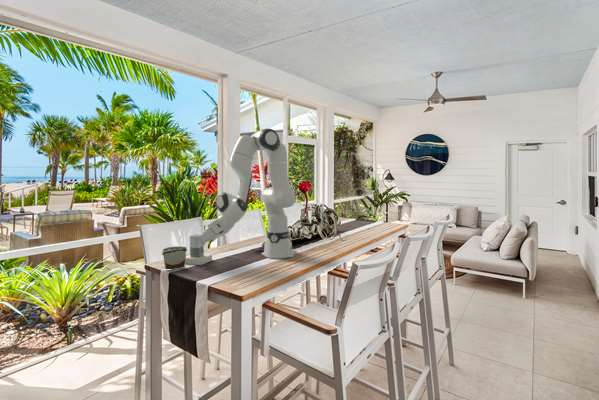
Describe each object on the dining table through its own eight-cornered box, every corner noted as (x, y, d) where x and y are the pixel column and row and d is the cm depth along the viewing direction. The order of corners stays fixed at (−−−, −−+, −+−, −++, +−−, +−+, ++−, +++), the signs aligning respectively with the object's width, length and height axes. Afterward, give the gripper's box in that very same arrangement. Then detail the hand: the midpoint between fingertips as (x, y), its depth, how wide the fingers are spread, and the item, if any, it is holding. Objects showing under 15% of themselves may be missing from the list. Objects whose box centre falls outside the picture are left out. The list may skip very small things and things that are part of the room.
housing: (195, 254, 187) (195, 234, 186) (203, 255, 186) (203, 234, 185) (190, 256, 182) (189, 236, 181) (198, 257, 181) (198, 236, 180)
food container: (181, 264, 179) (181, 245, 178) (187, 266, 174) (187, 247, 174) (157, 268, 170) (157, 248, 169) (163, 271, 166) (162, 250, 165)
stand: (194, 258, 191) (194, 252, 191) (212, 259, 188) (212, 254, 188) (182, 263, 181) (182, 257, 180) (201, 265, 178) (201, 259, 177)
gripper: (228, 217, 189) (213, 234, 193) (208, 223, 170) (191, 242, 173) (236, 226, 188) (220, 243, 192) (217, 233, 169) (199, 251, 173)
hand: (206, 242), depth 183 cm, fingers open, 8 cm apart
